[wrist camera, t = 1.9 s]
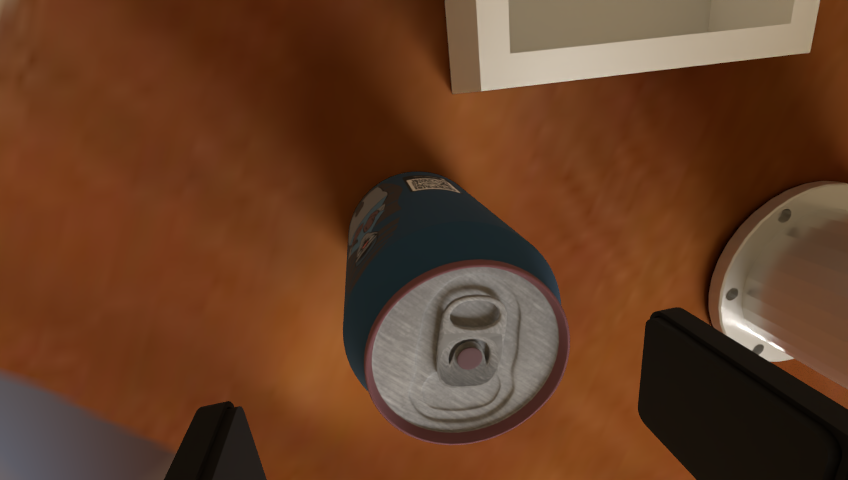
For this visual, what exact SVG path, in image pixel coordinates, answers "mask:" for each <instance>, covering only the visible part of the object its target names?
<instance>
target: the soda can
mask: <svg viewBox="0 0 848 480" xmlns="http://www.w3.org/2000/svg"><path fill="white" fill-rule="evenodd" d="M343 339H344V346H345V351H346V355H347V358H348V361H349V363H350V366H351V368H352V370H353V372H354V374H355V375H356V377H357V378H358V380H359V381H360V382H361V384H362V385H363V386H364V387H365V389H366V390H367V391H368V392H369V394H370V396H371V399H372V401H373V403H374V404H375V406H376V407H377V409H378V410H379V412H380V413H381V414H382V415H383V417H384V418H385V419H386V420H387V421H388V422H390V423H391V424H392V425H393V426H394V427H396V428H397V429H398V430H400V431H402V432H403V433H405V434H407V435H409V436H411V437H414V438H416V439H419V440H422V441H426V442H430V443H435V444H443V445H462V444H471V443H476V442H481V441H484V440H488V439H491V438H494V437H497V436H499V435H501V434H504V433H506V432H508V431H510V430H512V429H513V428H515V427H517V426H518V425H520V424H522V423H523V422H524V421H526V420H527V419H528V418H530V417H531V416H532V415H533V414H535V413H536V412H537V411H538V410H539V409H540V408H541V407H542V406H543V405H544V404H545V403H546V402H547V401H548V399H549V398H550V397H551V396H552V394H553V393H554V392H555V390H556V389H557V387H558V385H559V383H560V381H561V379H562V377H563V374H564V372H565V369H566V365H567V361H568V356H569V348H570V335H569V327H568V322H567V319H566V316H565V313H564V311H563V309H562V306H561V299H560V293H559V289H558V285H557V282H556V279H555V276H554V274H553V272H552V270H551V268H550V266H549V265H548V263H547V262H546V260H545V259H544V257H543V256H542V255H541V254H540V253H539V251H538V250H537V249H536V248H535V247H534V246H533V245H531V244H530V243H529V242H528V241H526V240H525V239H524V238H523V237H522V236H520V235H519V234H518V233H517V232H515V231H514V230H513V229H512V228H510V227H509V226H508V225H507V224H505V223H504V222H503V221H502V220H501V219H499V218H498V217H497V216H496V215H494V214H493V213H492V212H491V211H489V210H488V209H487V208H486V207H484V206H483V205H482V204H481V203H480V202H478V201H477V200H476V199H475V198H473V197H472V196H471V195H470V194H468V193H467V192H466V191H465V190H464V189H462V188H461V187H460V186H459V185H457V184H456V183H454V182H453V181H451V180H449V179H448V178H445V177H443V176H440V175H437V174H434V173H429V172H407V173H402V174H398V175H395V176H392V177H390V178H388V179H385V180H384V181H382V182H380V183H379V184H377V185H376V186H374V187H373V188H372V189H371V190H370V191H369V192H368V193H367V194H366V195H365V196H364V197H363V198H362V200H361V201H360V202H359V204H358V206H357V207H356V209H355V211H354V213H353V216H352V219H351V222H350V226H349V233H348V250H347V268H346V286H345V304H344V321H343Z"/></svg>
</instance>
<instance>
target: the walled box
mask: <svg viewBox="0 0 848 480" xmlns="http://www.w3.org/2000/svg"><path fill="white" fill-rule="evenodd" d="M819 3H820V0H445V11H446V23H447V36H448V48H449V60H450V73H451V85H452V94H458V93H468V92H478V91H487V90H495V89H504V88H512V87H521V86H529V85H538V84H546V83H555V82H563V81H572V80H580V79H589V78H598V77H606V76H615V75H623V74H632V73H640V72H649V71H657V70H666V69H674V68H683V67H691V66H700V65H708V64H717V63H726V62H734V61H743V60H751V59H760V58H768V57H777V56H785V55H794V54H802V53H810V50H811V45H812V40H813V34H814V29H815V24H816V19H817V14H818V9H819Z"/></svg>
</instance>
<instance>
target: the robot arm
mask: <svg viewBox="0 0 848 480" xmlns="http://www.w3.org/2000/svg"><path fill="white" fill-rule="evenodd" d="M709 314H710V318H711V322H712V325H713V327H714V328H713V327H712V326H710V325H709V324H707V323H705V322H704V321H702V320H700V319H699V318H697V317H695V316H694V315H692V314H691V313H689V312H687V311H686V310H684V309H682V308H671V309H666V310H661V311H657V312H654V313H653V314H652V315H651V317H650V320H648V321H647V322H646V326H645V337H644V348H643V358H642V369H641V380H640V390H639V401H638V412H639V415H640V417H641V419H642V421H643V422H644V424H645V425H646V426H647V427H648V428H649V429H650V430H651V431H652V432H653V433H654V435H655V436H656V437H657V438H658V439H659V440H660V441H661V442H662V443H663V444H664V445H665V446H666V447H667V448H668V450H669V451H670V452H671V453H672V454H673V455H674V456H675V457H676V458H677V459H678V460H679V461H680V462H681V463H682V465H683V466H684V467H685V468H686V469H687V470H688V471H689V472H690V473H691V474H692V475H693V476H694V477H695V478H696V480H848V409H846V408H844V407H843V406H841V405H840V404H838V403H836V402H835V401H833V400H831V399H830V398H828V397H826V396H825V395H823V394H822V393H820V392H818V391H817V390H815V389H813V388H812V387H810V386H808V385H807V384H805V383H804V382H802V381H800V380H799V379H797V378H795V377H794V376H792V375H790V374H789V373H787V372H786V371H784V370H782V369H781V368H779V367H777V366H776V365H774V364H772V363H771V362H778V361H785V360H789V359H794V358H795V359H796V360H798V361H800V362H802V363H803V364H805V365H807V366H808V367H810V368H812V369H814V370H815V371H817V372H819V373H820V374H822V375H824V376H826V377H827V378H829V379H831V380H832V381H834V382H836V383H838V384H839V385H841V386H843V387H845V388H846V389H848V183H843V182H835V181H818V182H811V183H805V184H803V185H800V186H797V187H794V188H791V189H789V190H787V191H785V192H783V193H781V194H780V195H778V196H776V197H774V198H772V199H771V200H769V201H768V202H767V203H765V204H764V205H763V206H761V207H760V208H759V209H758V210H756V211H755V212H754V213H753V214H752V215H751V216H750V217H749V218H748V219H747V220H746V221H745V222H744V223H743V224H742V225H741V226H740V227H739V228H738V230H737V231H736V232H735V234H734V235H733V236H732V238H731V239H730V240H729V242H728V243H727V245H726V246H725V248H724V250H723V252H722V254H721V256H720V257H719V259H718V262H717V264H716V267H715V270H714V272H713V275H712V279H711V284H710V289H709ZM164 480H267V479H266V476H265V473H264V470H263V467H262V464H261V461H260V458H259V455H258V452H257V449H256V446H255V443H254V440H253V437H252V434H251V431H250V428H249V425H248V422H247V419H246V416H245V413H244V410H243V408H242V407H240V406H239V407H234V405H233V404H232V403H231V402H229V401H227V402H223V403H218V404H213V405H208V406H204V407H200V408H199V409H198V410H197V412H196V413H195V416H194V418H193V420H192V422H191V424H190V426H189V428H188V430H187V432H186V434H185V437H184V439H183V441H182V443H181V445H180V447H179V449H178V451H177V453H176V455H175V458H174V460H173V462H172V464H171V466H170V468H169V470H168V472H167V474H166V477H165V479H164Z"/></svg>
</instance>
